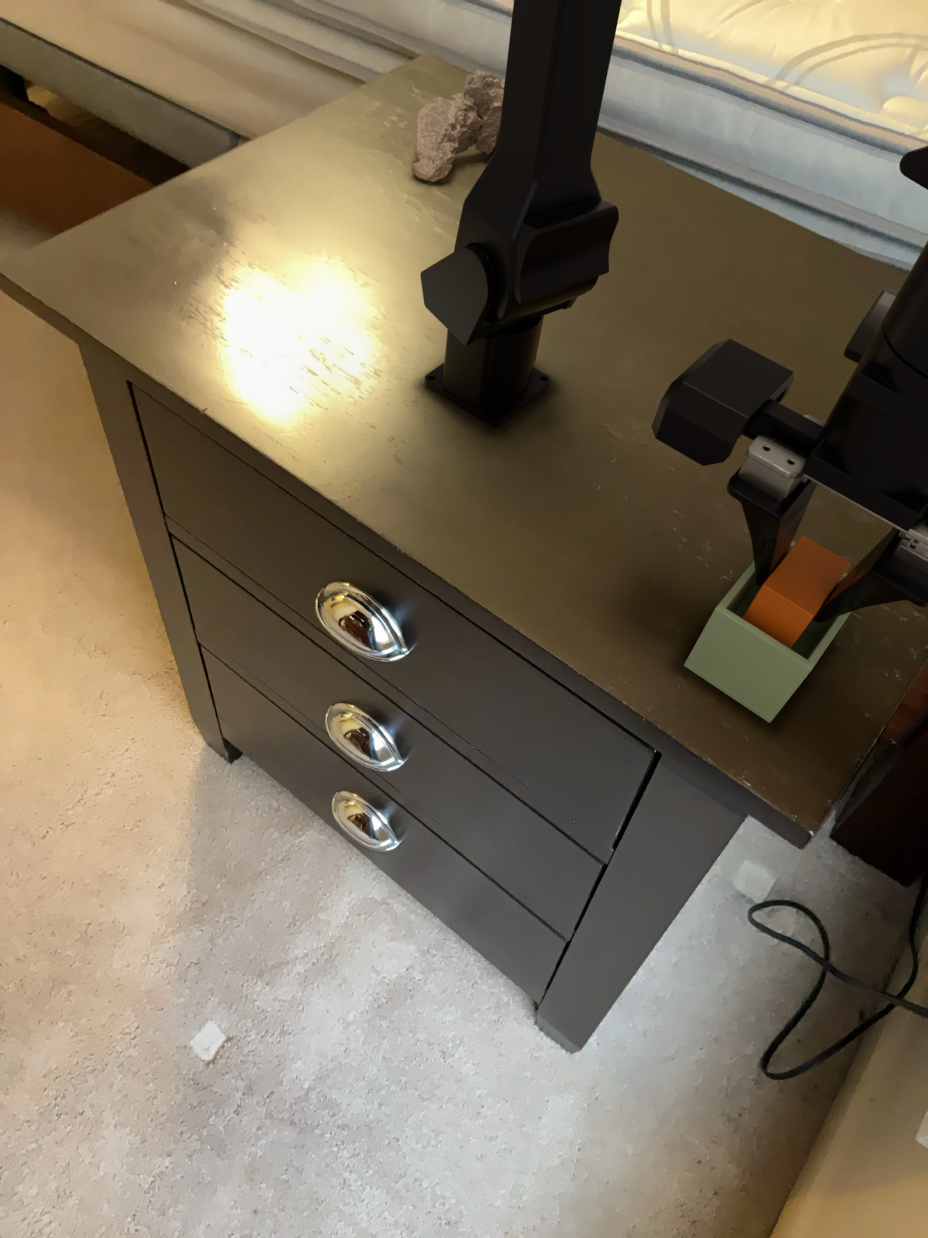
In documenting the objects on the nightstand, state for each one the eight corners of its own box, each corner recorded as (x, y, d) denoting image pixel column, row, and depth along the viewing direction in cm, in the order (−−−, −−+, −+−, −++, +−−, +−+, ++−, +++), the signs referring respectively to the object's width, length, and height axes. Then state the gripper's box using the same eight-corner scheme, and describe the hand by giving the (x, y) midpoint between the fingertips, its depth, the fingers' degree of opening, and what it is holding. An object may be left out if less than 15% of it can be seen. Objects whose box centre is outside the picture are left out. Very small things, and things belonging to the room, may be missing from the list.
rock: (397, 152, 77) (400, 65, 71) (540, 136, 82) (553, 52, 76) (421, 186, 74) (426, 98, 68) (568, 168, 79) (584, 83, 73)
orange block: (789, 650, 44) (813, 616, 41) (741, 620, 45) (762, 584, 42) (826, 598, 46) (852, 563, 44) (779, 570, 47) (802, 534, 44)
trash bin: (769, 723, 46) (812, 669, 42) (683, 665, 48) (715, 608, 43) (824, 643, 49) (868, 585, 45) (742, 591, 51) (777, 531, 47)
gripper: (1264, 364, 33) (1015, 606, 46) (823, 171, 39) (710, 433, 51) (1206, 523, 27) (941, 748, 40) (701, 270, 33) (608, 537, 46)
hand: (791, 599), depth 44 cm, fingers closed on orange block, 3 cm apart
